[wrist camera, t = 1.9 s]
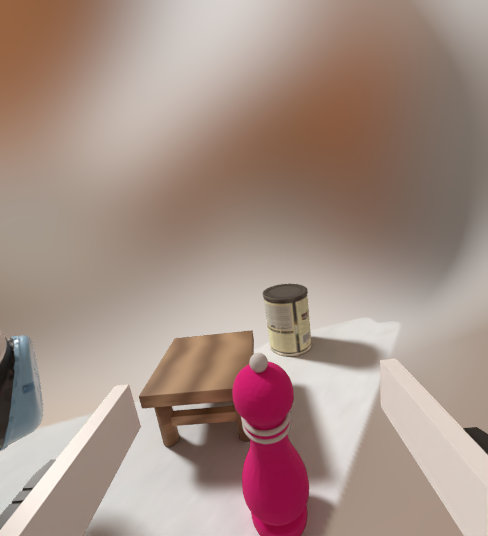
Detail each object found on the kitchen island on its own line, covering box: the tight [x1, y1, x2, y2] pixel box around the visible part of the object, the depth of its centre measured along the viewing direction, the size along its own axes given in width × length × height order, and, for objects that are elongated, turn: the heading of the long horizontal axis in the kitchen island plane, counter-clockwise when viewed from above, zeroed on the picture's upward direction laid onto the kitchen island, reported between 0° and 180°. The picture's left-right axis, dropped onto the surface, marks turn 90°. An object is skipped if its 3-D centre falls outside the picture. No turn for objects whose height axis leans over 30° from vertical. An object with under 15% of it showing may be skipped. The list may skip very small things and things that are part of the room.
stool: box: [139, 331, 254, 447], centre depth 43 cm, size 16×16×10 cm
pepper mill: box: [232, 353, 309, 536], centre depth 26 cm, size 7×7×20 cm
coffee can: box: [263, 284, 312, 356], centre depth 59 cm, size 10×10×14 cm
